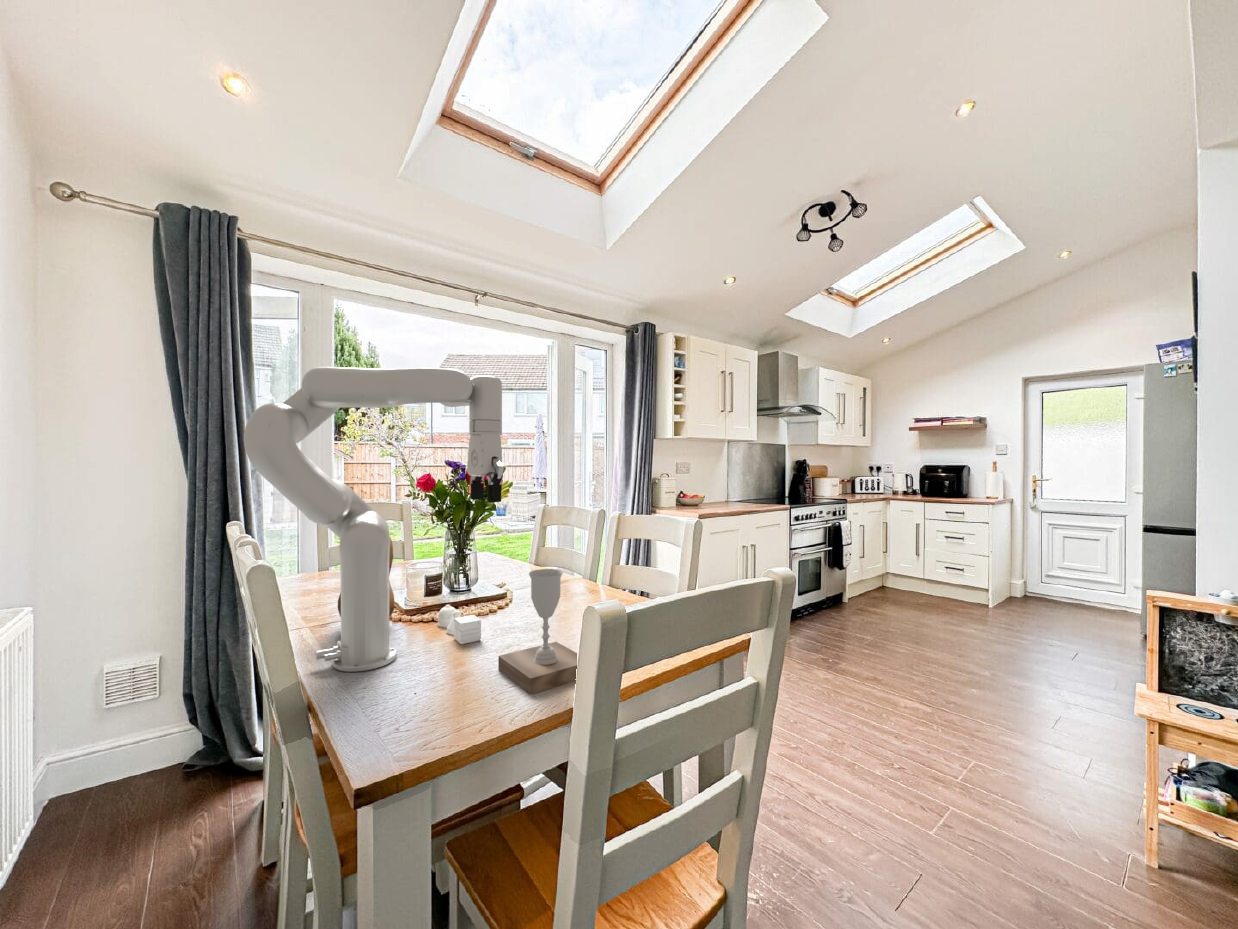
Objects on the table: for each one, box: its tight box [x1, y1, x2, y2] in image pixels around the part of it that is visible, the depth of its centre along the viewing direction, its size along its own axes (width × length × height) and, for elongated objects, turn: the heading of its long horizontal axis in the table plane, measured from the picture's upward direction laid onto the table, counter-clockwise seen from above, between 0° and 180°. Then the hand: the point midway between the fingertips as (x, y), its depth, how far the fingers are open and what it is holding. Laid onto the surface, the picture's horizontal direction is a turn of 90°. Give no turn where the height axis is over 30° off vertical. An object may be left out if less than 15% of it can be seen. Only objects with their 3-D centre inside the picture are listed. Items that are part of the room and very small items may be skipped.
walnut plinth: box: [497, 641, 577, 695], centre depth 108 cm, size 14×14×3 cm
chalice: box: [528, 568, 564, 665], centre depth 107 cm, size 7×7×18 cm
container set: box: [437, 604, 482, 645], centre depth 133 cm, size 20×5×6 cm, turn 36°
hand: (485, 500), depth 124 cm, fingers open, 9 cm apart
